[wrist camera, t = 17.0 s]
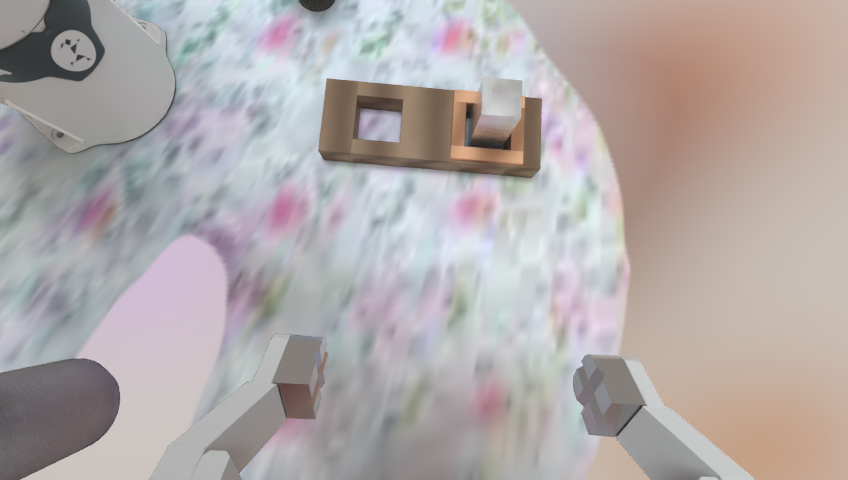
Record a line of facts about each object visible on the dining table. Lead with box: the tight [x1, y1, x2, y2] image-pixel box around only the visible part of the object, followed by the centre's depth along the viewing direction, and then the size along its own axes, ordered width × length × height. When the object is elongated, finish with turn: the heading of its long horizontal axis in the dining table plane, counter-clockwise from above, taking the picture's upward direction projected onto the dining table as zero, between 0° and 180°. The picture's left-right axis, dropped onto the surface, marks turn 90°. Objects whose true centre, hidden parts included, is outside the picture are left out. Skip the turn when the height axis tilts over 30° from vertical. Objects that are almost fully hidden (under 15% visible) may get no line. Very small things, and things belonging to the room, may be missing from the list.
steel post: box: [465, 77, 522, 150], centre depth 41 cm, size 4×4×10 cm
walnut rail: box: [318, 79, 542, 177], centre depth 44 cm, size 26×9×4 cm, turn 86°
